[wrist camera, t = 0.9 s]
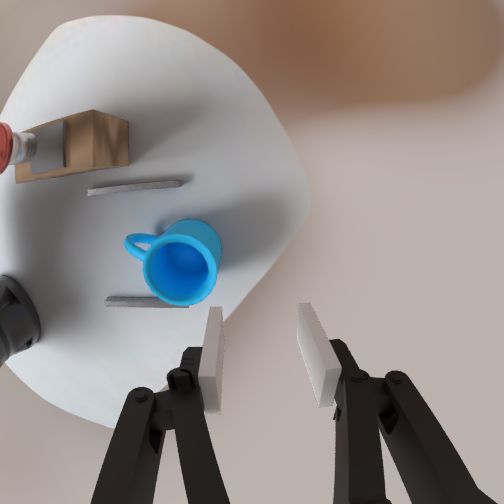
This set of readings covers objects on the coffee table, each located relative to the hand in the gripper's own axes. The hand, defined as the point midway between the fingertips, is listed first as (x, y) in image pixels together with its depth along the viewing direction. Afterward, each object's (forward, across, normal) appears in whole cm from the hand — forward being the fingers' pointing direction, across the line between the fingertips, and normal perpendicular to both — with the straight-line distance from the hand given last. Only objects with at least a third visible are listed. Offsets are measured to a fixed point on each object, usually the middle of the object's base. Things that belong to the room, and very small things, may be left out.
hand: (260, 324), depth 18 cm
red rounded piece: (+6, -22, +14) cm, 26 cm away
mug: (+20, -10, 0) cm, 22 cm away
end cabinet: (+20, -22, +14) cm, 32 cm away
